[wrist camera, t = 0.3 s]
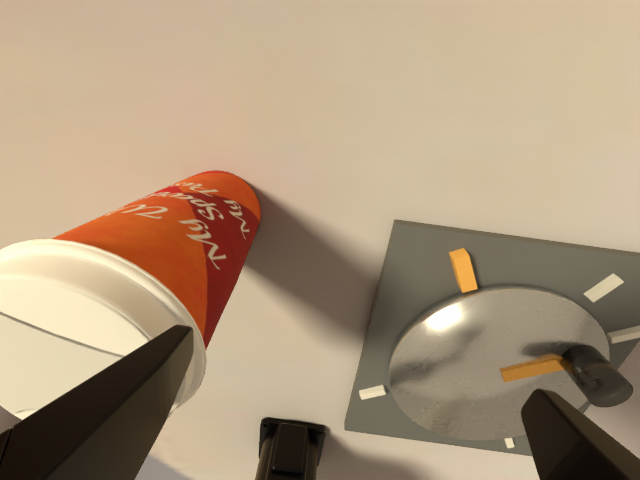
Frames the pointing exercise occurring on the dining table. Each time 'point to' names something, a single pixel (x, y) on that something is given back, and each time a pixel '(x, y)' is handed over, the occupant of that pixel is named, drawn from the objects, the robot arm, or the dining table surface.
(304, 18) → the dining table surface
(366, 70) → the dining table surface
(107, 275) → the paper cup
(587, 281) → the grey dial base plate
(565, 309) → the dial
